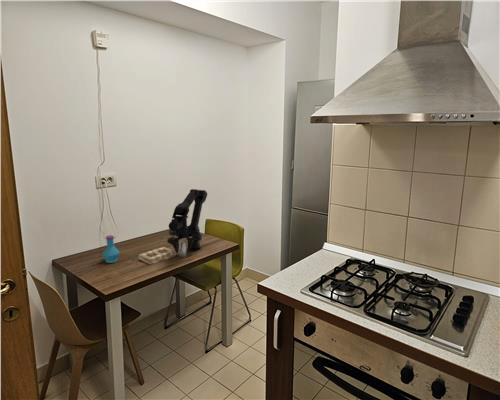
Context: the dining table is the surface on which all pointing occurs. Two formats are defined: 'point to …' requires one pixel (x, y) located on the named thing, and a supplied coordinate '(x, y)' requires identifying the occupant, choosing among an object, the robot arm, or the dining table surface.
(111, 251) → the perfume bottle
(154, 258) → the frame
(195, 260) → the dining table surface
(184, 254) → the grey cylinder
